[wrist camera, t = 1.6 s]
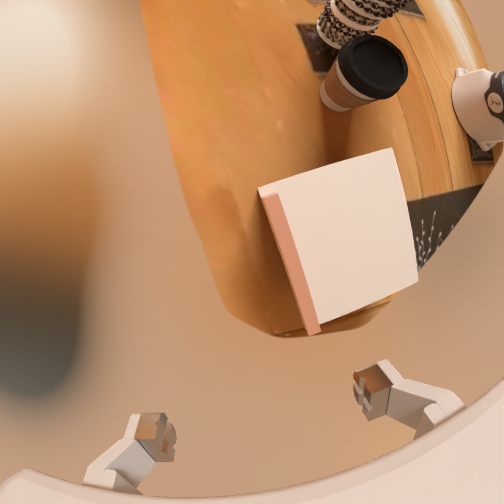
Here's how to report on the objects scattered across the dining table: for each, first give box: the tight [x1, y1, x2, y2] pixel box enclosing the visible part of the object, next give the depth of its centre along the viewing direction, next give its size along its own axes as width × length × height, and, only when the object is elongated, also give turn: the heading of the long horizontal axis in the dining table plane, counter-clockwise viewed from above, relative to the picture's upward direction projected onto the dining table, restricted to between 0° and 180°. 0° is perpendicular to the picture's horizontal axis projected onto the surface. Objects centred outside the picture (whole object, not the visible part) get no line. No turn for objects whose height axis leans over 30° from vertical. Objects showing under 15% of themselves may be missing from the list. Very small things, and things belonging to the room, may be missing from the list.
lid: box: [257, 148, 418, 336], centre depth 29 cm, size 17×18×4 cm
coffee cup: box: [319, 35, 408, 112], centre depth 28 cm, size 8×8×15 cm
